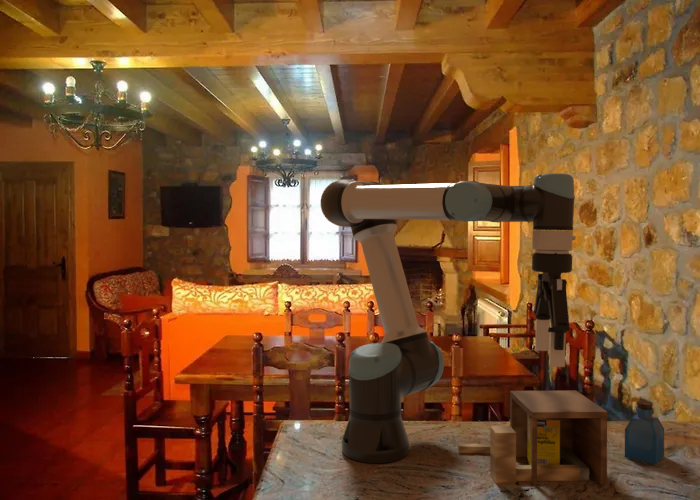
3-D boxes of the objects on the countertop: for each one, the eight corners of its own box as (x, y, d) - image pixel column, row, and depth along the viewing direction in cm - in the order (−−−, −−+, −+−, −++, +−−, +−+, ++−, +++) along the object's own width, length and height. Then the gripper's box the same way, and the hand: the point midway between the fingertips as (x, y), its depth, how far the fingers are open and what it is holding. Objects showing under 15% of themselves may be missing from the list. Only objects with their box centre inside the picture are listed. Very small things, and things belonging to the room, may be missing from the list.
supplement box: (560, 473, 114) (560, 420, 114) (529, 471, 115) (530, 418, 115) (556, 462, 120) (556, 411, 119) (526, 460, 121) (526, 409, 121)
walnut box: (532, 484, 109) (532, 412, 108) (510, 454, 124) (510, 390, 123) (606, 484, 109) (607, 411, 108) (575, 454, 124) (575, 390, 123)
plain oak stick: (458, 454, 125) (458, 446, 125) (458, 451, 127) (458, 443, 127) (513, 455, 124) (513, 447, 124) (512, 452, 126) (512, 444, 126)
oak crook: (495, 483, 109) (495, 432, 109) (481, 459, 121) (481, 413, 121) (591, 482, 109) (591, 432, 109) (567, 458, 121) (567, 412, 121)
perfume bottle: (624, 457, 122) (624, 402, 122) (633, 449, 126) (633, 396, 126) (656, 465, 118) (656, 408, 117) (664, 456, 122) (664, 402, 122)
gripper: (590, 255, 99) (586, 375, 99) (557, 249, 123) (554, 345, 124) (545, 254, 100) (542, 373, 100) (522, 249, 124) (519, 343, 125)
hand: (549, 358), depth 112 cm, fingers open, 13 cm apart
